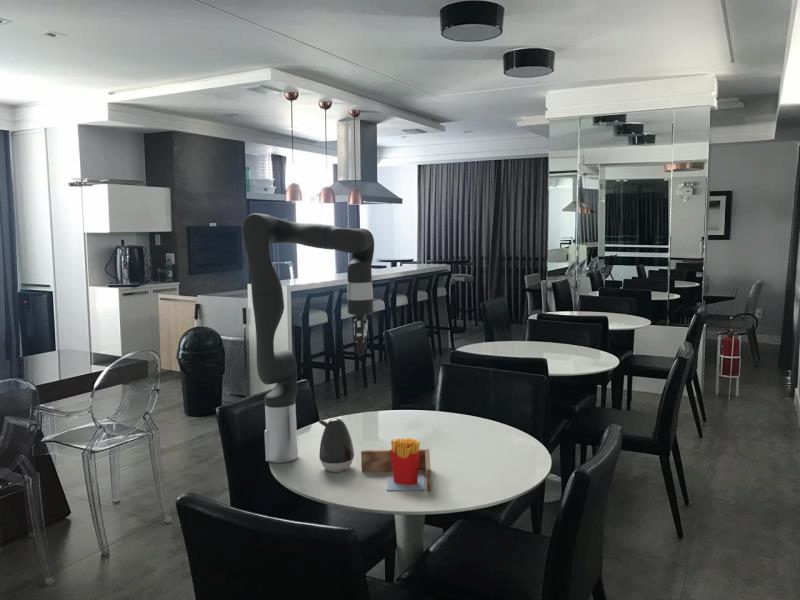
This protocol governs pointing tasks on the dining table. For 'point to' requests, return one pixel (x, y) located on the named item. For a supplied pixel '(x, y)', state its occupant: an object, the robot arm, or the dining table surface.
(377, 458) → the wooden corner bracket
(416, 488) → the mat
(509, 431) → the dining table surface
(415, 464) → the french fries
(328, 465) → the pump dispenser
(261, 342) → the robot arm
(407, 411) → the dining table surface
